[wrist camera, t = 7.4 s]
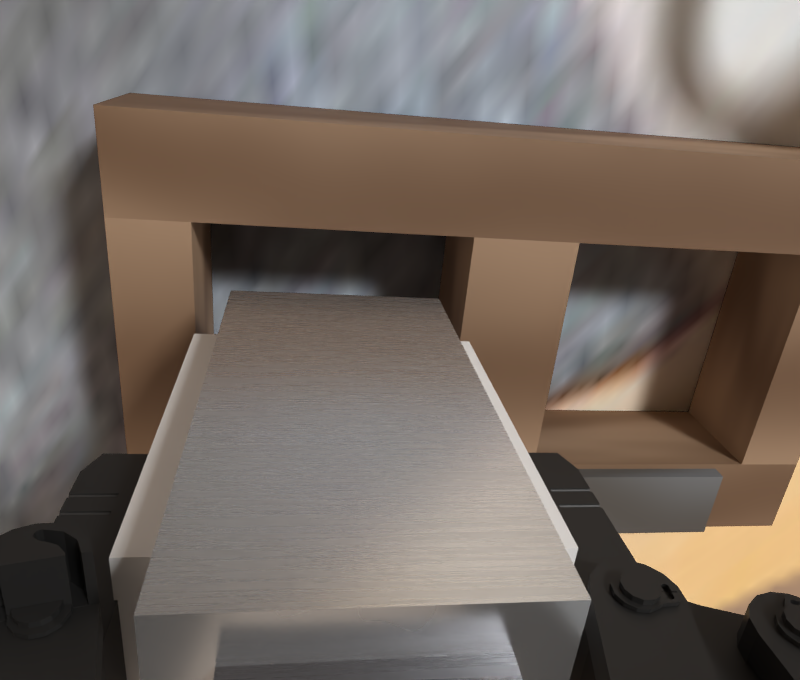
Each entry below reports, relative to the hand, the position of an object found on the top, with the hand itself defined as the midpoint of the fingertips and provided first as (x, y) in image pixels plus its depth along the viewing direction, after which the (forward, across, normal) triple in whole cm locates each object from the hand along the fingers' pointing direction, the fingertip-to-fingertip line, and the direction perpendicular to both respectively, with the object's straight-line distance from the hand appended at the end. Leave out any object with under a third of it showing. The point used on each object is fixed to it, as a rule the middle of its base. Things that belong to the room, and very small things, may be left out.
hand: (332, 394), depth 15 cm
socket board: (+5, +4, 0) cm, 7 cm away
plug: (0, 0, 0) cm, 0 cm away
